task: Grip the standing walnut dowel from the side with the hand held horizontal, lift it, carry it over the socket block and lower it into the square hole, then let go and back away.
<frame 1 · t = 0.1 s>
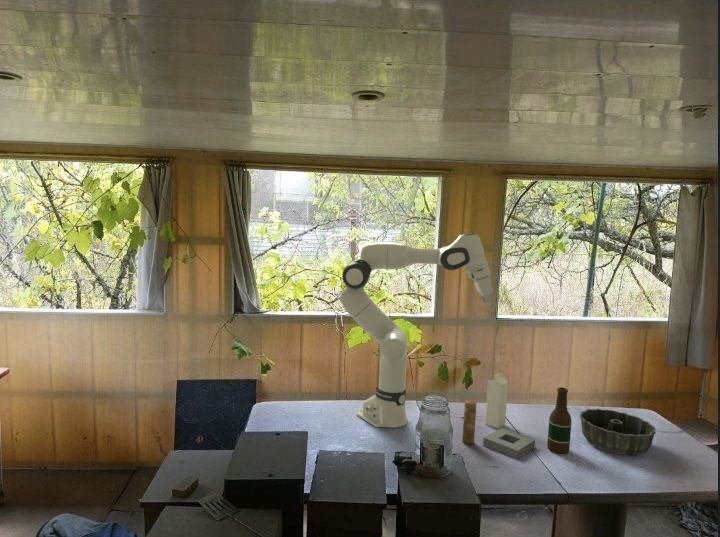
hand: (487, 304, 193), 52 cm above the table, tool tilted 20°, fingers open, 8 cm apart
bundt pan: (614, 446, 186), on the table
socket block: (508, 446, 182), on the table
beer bottle: (557, 450, 180), on the table
dowel: (468, 442, 184), on the table
milk: (495, 425, 202), on the table
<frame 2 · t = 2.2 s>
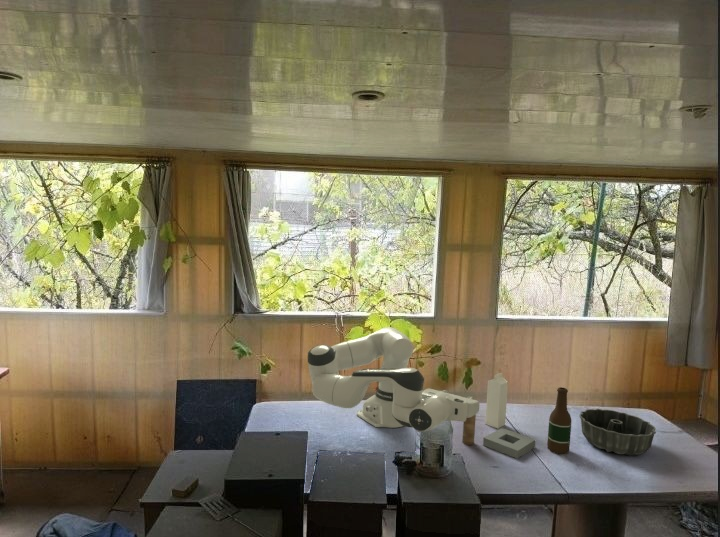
hand: (458, 395, 172), 22 cm above the table, tool horizontal, fingers open, 8 cm apart
nothing on the table moved.
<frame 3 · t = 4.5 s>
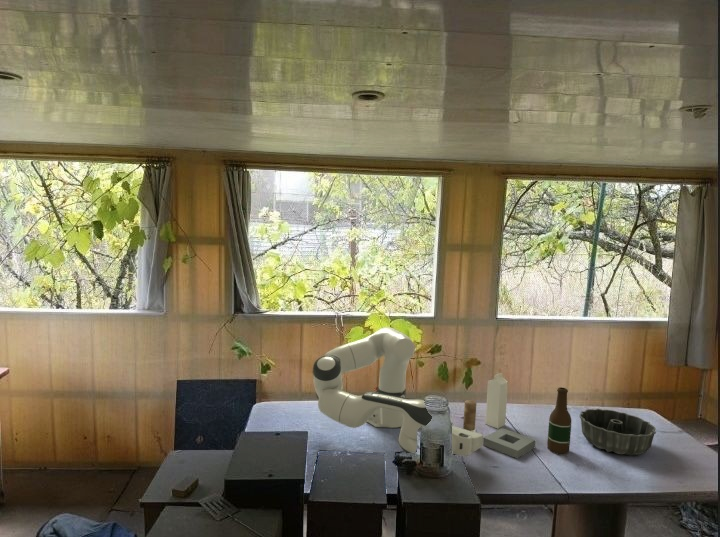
hand: (462, 427, 176), 9 cm above the table, tool horizontal, fingers open, 8 cm apart
nothing on the table moved.
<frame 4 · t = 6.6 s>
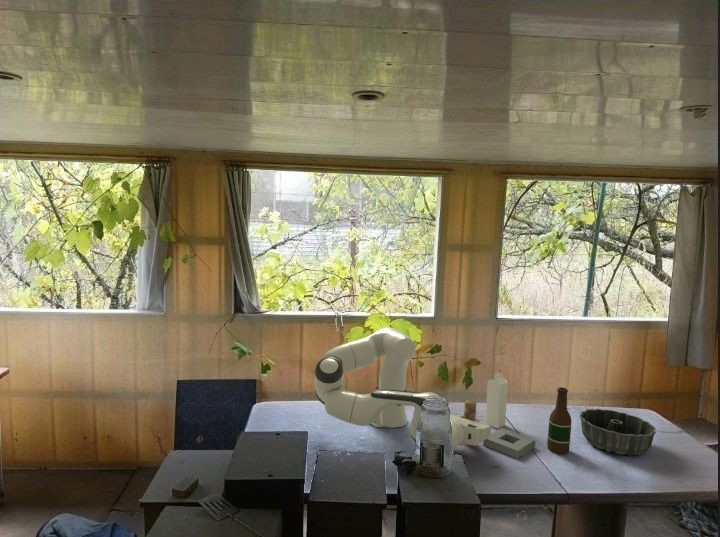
hand: (470, 419, 183), 9 cm above the table, tool horizontal, fingers closed on dowel, 4 cm apart
dowel: (468, 442, 184), on the table, touching gripper
everything else where it was.
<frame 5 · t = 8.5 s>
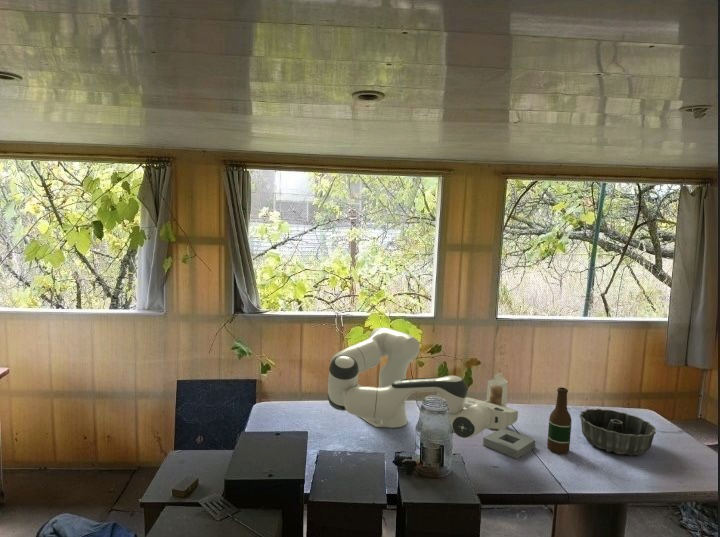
hand: (496, 404, 179), 16 cm above the table, tool horizontal, fingers closed on dowel, 4 cm apart
dowel: (493, 428, 179), point 7 cm above the table, touching gripper
everything else where it was.
when the fingers open (10 cm above the table, at t = 10.6 s): dowel stays where it is, resting in socket block.
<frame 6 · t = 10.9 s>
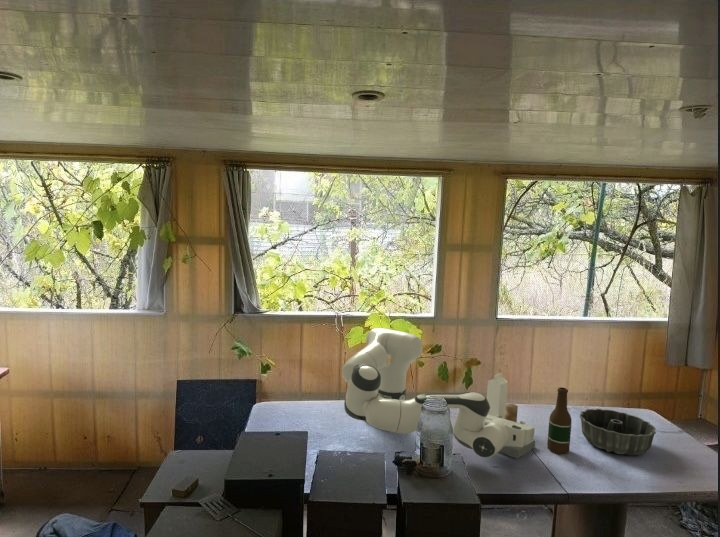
hand: (511, 420, 182), 10 cm above the table, tool horizontal, fingers open, 7 cm apart
dowel: (508, 446, 182), resting in socket block
everything else where it was.
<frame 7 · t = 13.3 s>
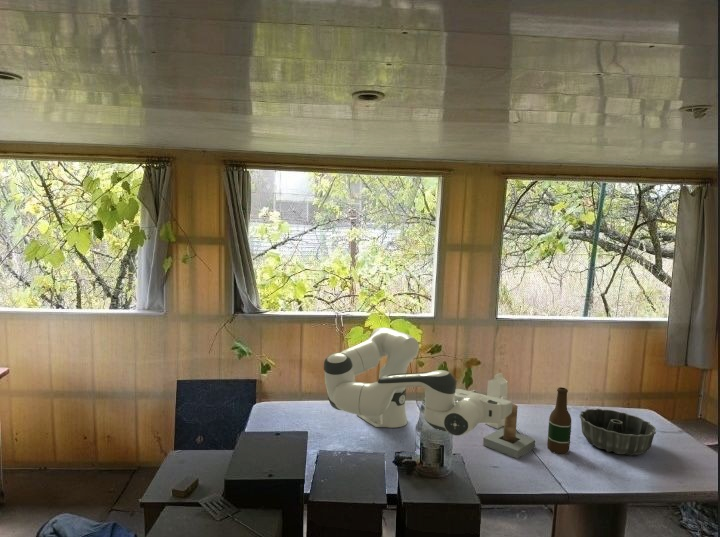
hand: (488, 395, 168), 24 cm above the table, tool horizontal, fingers open, 8 cm apart
nothing on the table moved.
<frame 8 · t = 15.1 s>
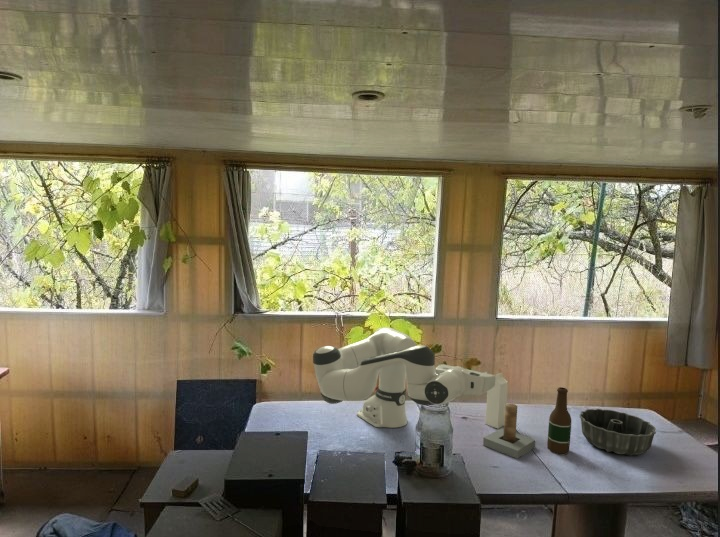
hand: (472, 371, 168), 32 cm above the table, tool horizontal, fingers open, 8 cm apart
nothing on the table moved.
at the end: dowel 0.1 cm off-centre on the socket block, point 0.0 cm above the socket block's base; dowel tilted 0°; the gripper is holding nothing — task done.
